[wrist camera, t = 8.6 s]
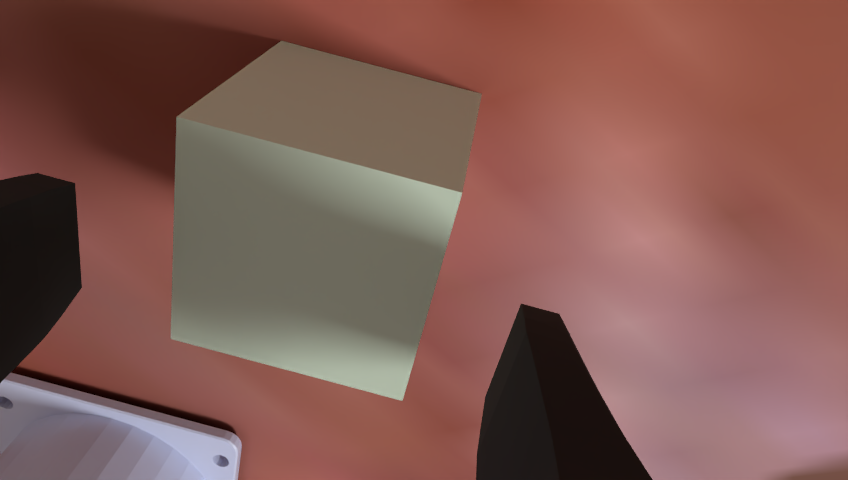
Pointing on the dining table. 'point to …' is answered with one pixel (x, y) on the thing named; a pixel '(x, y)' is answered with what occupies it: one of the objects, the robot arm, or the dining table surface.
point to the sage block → (317, 214)
